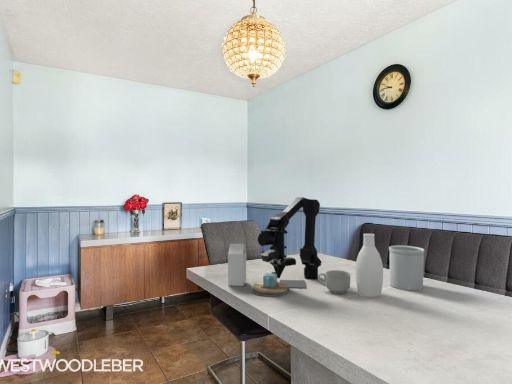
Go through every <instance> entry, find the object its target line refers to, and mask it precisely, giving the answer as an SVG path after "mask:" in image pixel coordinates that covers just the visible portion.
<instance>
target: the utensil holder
mask: <svg viewBox="0 0 512 384" xmlns="http://www.w3.org/2000/svg"><path fill="white" fill-rule="evenodd" d="M388 251H389V285H390V286H391V287H393V288H395V289H399V290H403V291H421V290H423V287H424V271H425V270H424V266H425V265H424V264H425V262H424V261H425V259H424V258H425V252H426V251H425V249H424V248H422V247H418V246H412V245H391V246H388Z"/></svg>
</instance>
